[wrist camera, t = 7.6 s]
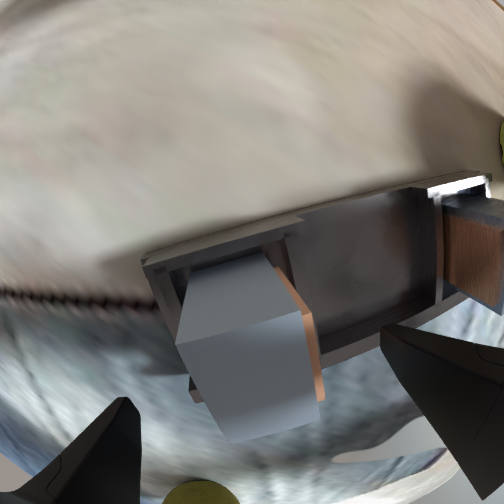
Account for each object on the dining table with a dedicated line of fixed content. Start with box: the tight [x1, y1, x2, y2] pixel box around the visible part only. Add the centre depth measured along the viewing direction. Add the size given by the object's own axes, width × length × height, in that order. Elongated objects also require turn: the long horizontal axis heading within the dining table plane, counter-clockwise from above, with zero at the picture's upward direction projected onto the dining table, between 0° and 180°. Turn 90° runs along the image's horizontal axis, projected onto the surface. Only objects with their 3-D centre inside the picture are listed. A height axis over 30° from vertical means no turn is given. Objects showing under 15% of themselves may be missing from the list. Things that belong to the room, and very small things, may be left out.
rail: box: [141, 171, 504, 403], centre depth 12 cm, size 8×22×7 cm, turn 104°
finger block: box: [175, 252, 325, 444], centre depth 11 cm, size 5×4×6 cm
